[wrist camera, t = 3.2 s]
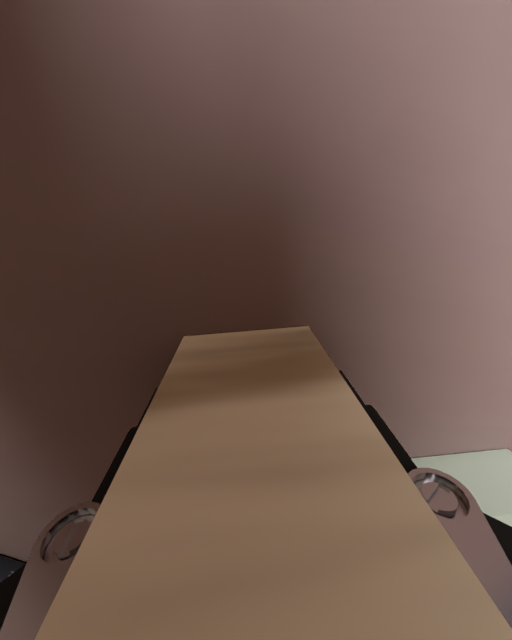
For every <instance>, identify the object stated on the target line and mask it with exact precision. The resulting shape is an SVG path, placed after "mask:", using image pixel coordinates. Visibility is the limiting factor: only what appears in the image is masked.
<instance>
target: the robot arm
mask: <svg viewBox="0 0 512 640" xmlns="http://www.w3.org/2000/svg"><path fill="white" fill-rule="evenodd" d="M339 372H340V374H341V375H342V377H343V378H344V380H345V381H346V383H347V384H348V386H349V387H350V389H351V390H352V392H353V393H354V395H355V396H356V398H357V399H358V401H359V402H360V404H361V405H362V407H363V408H364V410H365V411H366V413H367V414H368V416H369V417H370V419H371V420H372V422H373V423H374V425H375V426H376V428H377V429H378V431H379V432H380V434H381V435H382V437H383V438H384V439H385V441H386V442H387V444H388V445H389V447H390V448H391V450H392V451H393V453H394V454H395V456H396V457H397V459H398V460H399V462H400V463H401V465H402V466H403V468H404V469H405V471H406V472H407V474H408V475H409V477H410V478H411V480H412V481H413V483H414V484H415V486H416V487H417V489H418V490H419V492H420V493H421V495H422V496H423V498H424V499H425V501H426V502H427V504H428V505H429V507H430V508H431V509H432V511H433V512H434V514H435V515H436V517H437V518H438V520H439V521H440V523H441V524H442V526H443V527H444V529H445V530H446V532H447V533H448V535H449V536H450V538H451V539H452V541H453V542H454V544H455V545H456V547H457V548H458V550H459V551H460V553H461V554H462V556H463V557H464V559H465V560H466V562H467V563H468V565H469V566H470V568H471V569H472V571H473V572H474V574H475V575H476V577H477V578H478V579H479V581H480V582H481V584H482V585H483V587H484V588H485V590H486V591H487V593H488V594H489V596H490V597H491V599H492V600H493V602H494V603H495V605H496V606H497V608H498V609H499V611H500V612H501V614H502V615H503V617H504V618H505V620H506V621H507V623H508V624H509V626H510V627H511V629H512V527H511V526H509V525H507V524H505V523H503V522H501V521H499V520H497V519H495V518H493V517H491V516H489V515H487V514H485V513H483V512H482V510H481V509H480V507H479V505H478V503H477V501H476V499H475V498H474V497H473V495H472V494H471V492H470V491H469V490H468V489H467V488H466V487H465V486H464V485H463V484H462V483H461V482H460V481H458V480H456V479H455V478H453V477H452V476H450V475H449V474H446V473H444V472H442V471H439V470H436V469H432V468H417V466H416V465H415V464H414V462H413V461H412V459H411V458H410V457H409V455H408V454H407V453H406V451H405V450H404V448H403V447H402V446H401V444H400V443H399V442H398V440H397V439H396V438H395V436H394V435H393V433H392V432H391V431H390V429H389V428H388V427H387V425H386V424H385V422H384V421H383V420H382V418H381V417H380V416H379V414H378V413H377V411H376V410H375V409H374V408H373V407H372V406H371V405H365V404H364V403H363V401H362V400H361V398H360V397H359V395H358V394H357V393H356V391H355V390H354V388H353V387H352V385H351V384H350V382H349V381H348V380H347V378H346V377H345V375H344V374H343V372H342V371H339ZM157 389H158V387H157V388H156V390H155V392H154V394H153V396H152V398H151V400H150V402H149V404H148V406H147V408H146V410H145V412H144V414H143V416H142V418H141V420H140V422H139V424H138V426H137V427H133V428H131V429H130V431H129V432H128V434H127V436H126V438H125V440H124V441H123V443H122V445H121V447H120V449H119V451H118V453H117V455H116V457H115V458H114V460H113V462H112V464H111V466H110V468H109V470H108V472H107V473H106V475H105V477H104V479H103V481H102V483H101V485H100V487H99V489H98V490H97V492H96V494H95V496H94V498H93V500H92V502H85V503H81V504H78V505H75V506H73V507H71V508H69V509H67V510H66V511H64V512H62V513H61V514H59V515H58V516H57V517H56V518H55V519H53V520H52V521H51V522H50V523H49V524H48V525H47V526H46V527H45V529H44V530H43V531H42V532H41V534H40V535H39V536H38V538H37V540H36V542H35V544H34V546H33V548H32V550H31V553H30V556H29V558H28V561H27V563H26V564H25V565H23V566H22V567H20V568H19V569H18V570H16V571H15V572H14V573H12V574H11V575H10V576H8V577H7V578H6V579H4V580H3V581H1V582H0V640H34V639H35V637H36V635H37V633H38V631H39V629H40V627H41V625H42V623H43V621H44V619H45V617H46V615H47V613H48V611H49V609H50V607H51V605H52V603H53V601H54V599H55V597H56V595H57V593H58V591H59V589H60V586H61V584H62V582H63V580H64V578H65V576H66V574H67V572H68V570H69V568H70V566H71V564H72V562H73V560H74V558H75V556H76V554H77V552H78V550H79V548H80V546H81V544H82V542H83V540H84V538H85V536H86V534H87V532H88V530H89V528H90V526H91V524H92V521H93V519H94V517H95V515H96V513H97V511H98V509H99V507H100V505H101V503H102V501H103V499H104V497H105V495H106V493H107V491H108V489H109V487H110V485H111V483H112V481H113V479H114V477H115V475H116V473H117V471H118V469H119V467H120V465H121V463H122V461H123V459H124V457H125V454H126V452H127V450H128V448H129V446H130V444H131V442H132V440H133V438H134V436H135V434H136V432H137V430H138V428H139V426H140V424H141V422H142V420H143V418H144V416H145V414H146V412H147V410H148V408H149V406H150V404H151V402H152V400H153V398H154V396H155V394H156V392H157Z"/></svg>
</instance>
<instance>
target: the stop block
mask: <svg viewBox="0 0 512 640" xmlns="http://www.w3.org/2000/svg"><path fill="white" fill-rule="evenodd" d="M34 640H512V629H511V627H510V626H509V624H508V623H507V621H506V620H505V618H504V617H503V615H502V614H501V612H500V611H499V609H498V608H497V606H496V605H495V603H494V602H493V600H492V599H491V597H490V596H489V594H488V593H487V591H486V590H485V588H484V587H483V585H482V584H481V582H480V581H479V579H478V578H477V577H476V575H475V574H474V572H473V571H472V569H471V568H470V566H469V565H468V563H467V562H466V560H465V559H464V557H463V556H462V554H461V553H460V551H459V550H458V548H457V547H456V545H455V544H454V542H453V541H452V539H451V538H450V536H449V535H448V533H447V532H446V530H445V529H444V527H443V526H442V524H441V523H440V521H439V520H438V518H437V517H436V515H435V514H434V512H433V511H432V509H431V508H430V507H429V505H428V504H427V502H426V501H425V499H424V498H423V496H422V495H421V493H420V492H419V490H418V489H417V487H416V486H415V484H414V483H413V481H412V480H411V478H410V477H409V475H408V474H407V472H406V471H405V469H404V468H403V466H402V465H401V463H400V462H399V460H398V459H397V457H396V456H395V454H394V453H393V451H392V450H391V448H390V447H389V445H388V444H387V442H386V441H385V439H384V438H383V437H382V435H381V434H380V432H379V431H378V429H377V428H376V426H375V425H374V423H373V422H372V420H371V419H370V417H369V416H368V414H367V413H366V411H365V410H364V408H363V407H362V405H361V404H360V402H359V401H358V399H357V398H356V396H355V395H354V393H353V392H352V390H351V389H350V387H349V386H348V384H347V383H346V381H345V380H344V378H343V377H342V375H341V374H340V372H339V371H338V369H337V368H336V367H335V365H334V364H333V362H332V361H331V359H330V358H329V356H328V355H327V353H326V352H325V350H324V349H323V347H322V346H321V344H320V343H319V341H318V340H317V338H316V337H315V335H314V334H313V332H312V331H311V329H310V328H309V326H301V327H290V328H278V329H266V330H254V331H242V332H230V333H218V334H207V335H195V336H184V337H183V339H182V341H181V343H180V345H179V347H178V349H177V351H176V353H175V355H174V357H173V359H172V361H171V363H170V365H169V367H168V369H167V371H166V373H165V375H164V377H163V379H162V381H161V383H160V385H159V387H158V389H157V392H156V394H155V396H154V398H153V400H152V402H151V404H150V406H149V408H148V410H147V412H146V414H145V416H144V418H143V420H142V422H141V424H140V426H139V428H138V430H137V432H136V434H135V436H134V438H133V440H132V442H131V444H130V446H129V448H128V450H127V452H126V454H125V457H124V459H123V461H122V463H121V465H120V467H119V469H118V471H117V473H116V475H115V477H114V479H113V481H112V483H111V485H110V487H109V489H108V491H107V493H106V495H105V497H104V499H103V501H102V503H101V505H100V507H99V509H98V511H97V513H96V515H95V517H94V519H93V521H92V524H91V526H90V528H89V530H88V532H87V534H86V536H85V538H84V540H83V542H82V544H81V546H80V548H79V550H78V552H77V554H76V556H75V558H74V560H73V562H72V564H71V566H70V568H69V570H68V572H67V574H66V576H65V578H64V580H63V582H62V584H61V586H60V589H59V591H58V593H57V595H56V597H55V599H54V601H53V603H52V605H51V607H50V609H49V611H48V613H47V615H46V617H45V619H44V621H43V623H42V625H41V627H40V629H39V631H38V633H37V635H36V637H35V639H34Z"/></svg>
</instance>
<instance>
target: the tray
mask: <svg viewBox="0 0 512 640" xmlns="http://www.w3.org/2000/svg"><path fill="white" fill-rule="evenodd" d="M411 459H412V461H413V462H414V464H415V465H416V466H417V468H432V469H436V470H439V471H442V472H444V473H446V474H449V475H450V476H452V477H453V478H455V479H456V480H458V481H460V482H461V483H462V484H463V485H464V486H465V487H466V488H467V489H468V490H469V491H470V492H471V494H472V495H473V497H474V498H475V499H476V501H477V503H478V505H479V507H480V509H481V510H482V512H483V513H485V514H487V515H489V516H491V517H493V518H495V519H497V520H499V521H501V522H503V523H505V524H507V525H509V526H511V527H512V452H511V451H510V450H508V449H499V450H489V451H480V452H470V453H460V454H450V455H441V456H431V457H421V458H411Z"/></svg>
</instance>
